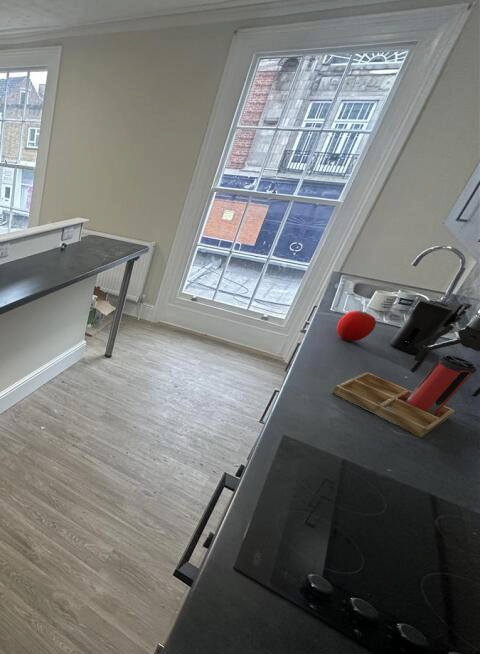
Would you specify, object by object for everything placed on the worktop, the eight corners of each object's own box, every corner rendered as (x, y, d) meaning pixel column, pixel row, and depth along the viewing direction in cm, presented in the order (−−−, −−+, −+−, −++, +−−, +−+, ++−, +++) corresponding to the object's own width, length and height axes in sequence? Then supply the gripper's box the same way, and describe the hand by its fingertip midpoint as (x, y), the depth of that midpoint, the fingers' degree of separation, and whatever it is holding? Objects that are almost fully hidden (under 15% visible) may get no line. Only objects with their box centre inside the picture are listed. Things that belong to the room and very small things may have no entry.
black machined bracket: (385, 345, 166) (420, 296, 155) (404, 337, 175) (439, 290, 164) (422, 359, 157) (463, 309, 146) (440, 350, 167) (479, 301, 155)
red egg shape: (334, 330, 175) (350, 304, 168) (365, 341, 168) (384, 313, 161) (327, 337, 168) (345, 309, 162) (360, 348, 161) (379, 320, 155)
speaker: (414, 415, 122) (456, 365, 112) (395, 400, 128) (434, 352, 119) (442, 419, 121) (487, 370, 112) (422, 404, 127) (463, 356, 118)
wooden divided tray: (448, 418, 123) (455, 410, 122) (420, 437, 113) (428, 429, 112) (361, 379, 140) (367, 371, 138) (331, 393, 130) (336, 385, 128)
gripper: (430, 302, 116) (385, 364, 127) (565, 342, 97) (500, 410, 108) (439, 299, 119) (395, 359, 130) (572, 337, 101) (508, 403, 112)
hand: (443, 382), depth 119 cm, fingers open, 13 cm apart
